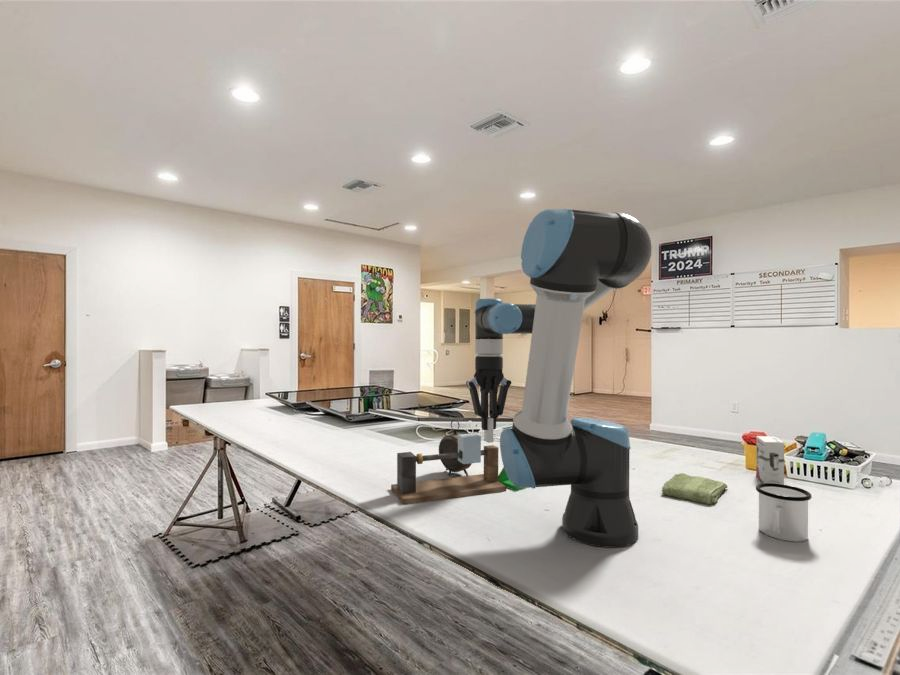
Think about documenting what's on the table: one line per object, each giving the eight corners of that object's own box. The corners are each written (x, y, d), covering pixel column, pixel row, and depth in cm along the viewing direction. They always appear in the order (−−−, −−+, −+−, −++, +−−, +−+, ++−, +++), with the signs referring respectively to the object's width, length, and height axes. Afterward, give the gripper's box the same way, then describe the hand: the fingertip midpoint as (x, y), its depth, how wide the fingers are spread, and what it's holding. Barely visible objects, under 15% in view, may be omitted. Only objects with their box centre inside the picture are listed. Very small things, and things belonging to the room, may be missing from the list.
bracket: (517, 492, 124) (517, 466, 124) (496, 484, 130) (496, 460, 130) (545, 483, 132) (546, 458, 132) (524, 476, 138) (524, 453, 138)
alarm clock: (474, 476, 136) (474, 420, 136) (461, 480, 132) (461, 423, 132) (448, 469, 144) (448, 416, 144) (435, 472, 140) (435, 418, 140)
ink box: (755, 474, 139) (755, 435, 139) (774, 476, 137) (774, 436, 137) (764, 483, 130) (764, 441, 130) (784, 485, 129) (784, 442, 129)
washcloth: (729, 490, 126) (729, 478, 126) (714, 508, 113) (714, 495, 113) (676, 480, 135) (676, 469, 135) (657, 496, 121) (657, 483, 121)
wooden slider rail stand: (486, 477, 135) (486, 441, 135) (506, 490, 124) (506, 451, 124) (391, 489, 125) (391, 450, 125) (403, 504, 114) (403, 461, 114)
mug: (760, 520, 104) (760, 480, 104) (814, 533, 97) (814, 489, 97) (747, 537, 95) (748, 493, 95) (805, 552, 89) (806, 504, 89)
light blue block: (474, 458, 129) (474, 433, 129) (480, 462, 126) (480, 436, 126) (457, 460, 127) (457, 434, 127) (463, 464, 124) (463, 437, 124)
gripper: (503, 354, 134) (503, 436, 134) (461, 355, 130) (461, 440, 130) (516, 355, 127) (516, 442, 127) (472, 356, 123) (472, 446, 123)
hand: (488, 441), depth 129 cm, fingers closed
